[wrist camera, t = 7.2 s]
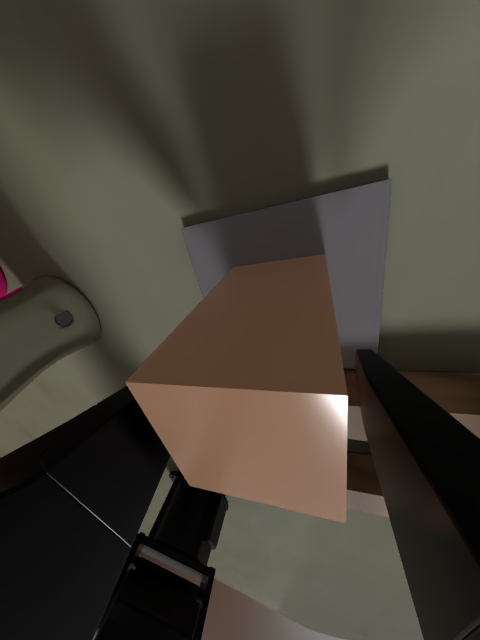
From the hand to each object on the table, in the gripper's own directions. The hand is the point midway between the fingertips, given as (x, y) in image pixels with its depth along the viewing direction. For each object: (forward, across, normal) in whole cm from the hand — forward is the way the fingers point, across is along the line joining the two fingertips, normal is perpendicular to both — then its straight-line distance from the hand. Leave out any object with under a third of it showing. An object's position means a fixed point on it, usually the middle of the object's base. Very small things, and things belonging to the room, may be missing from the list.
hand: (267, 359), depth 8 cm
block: (+5, 0, 0) cm, 5 cm away
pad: (+5, 0, 0) cm, 5 cm away
